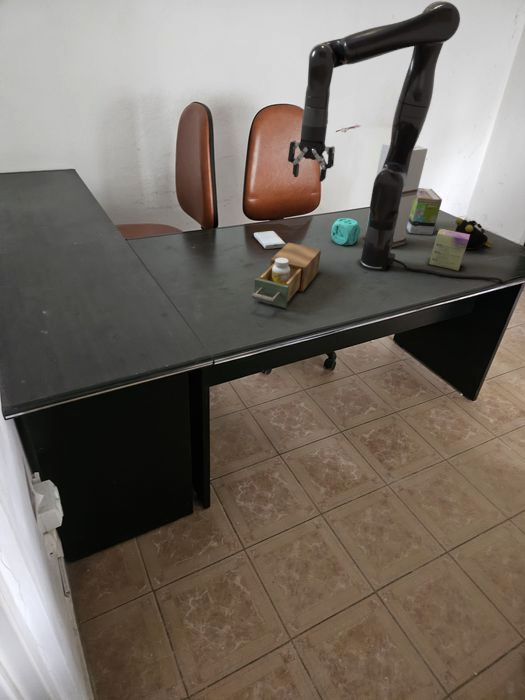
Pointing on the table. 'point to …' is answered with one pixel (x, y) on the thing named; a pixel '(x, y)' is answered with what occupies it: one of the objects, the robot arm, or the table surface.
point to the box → (449, 249)
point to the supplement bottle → (281, 271)
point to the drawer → (277, 287)
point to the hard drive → (269, 239)
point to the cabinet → (301, 261)
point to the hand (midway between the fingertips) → (308, 178)
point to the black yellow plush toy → (472, 233)
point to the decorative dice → (345, 231)
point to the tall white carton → (406, 189)
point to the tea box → (424, 212)
